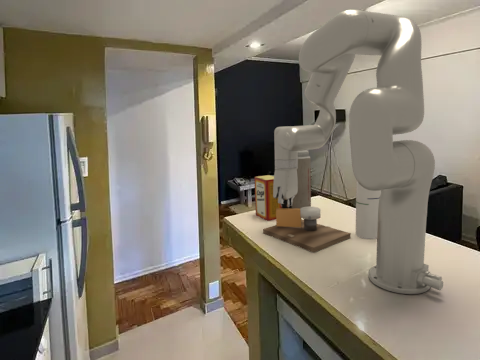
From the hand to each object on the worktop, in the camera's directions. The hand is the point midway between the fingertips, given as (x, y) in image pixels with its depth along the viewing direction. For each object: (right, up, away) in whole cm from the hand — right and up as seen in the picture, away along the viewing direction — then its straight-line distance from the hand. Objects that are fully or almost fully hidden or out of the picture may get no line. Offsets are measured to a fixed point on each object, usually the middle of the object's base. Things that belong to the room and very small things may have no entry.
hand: (286, 217), depth 110 cm
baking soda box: (-5, -2, +16) cm, 17 cm away
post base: (+5, -5, -6) cm, 9 cm away
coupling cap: (+3, -2, -4) cm, 6 cm away
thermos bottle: (+9, 0, +21) cm, 23 cm away
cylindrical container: (+24, -5, -8) cm, 26 cm away
